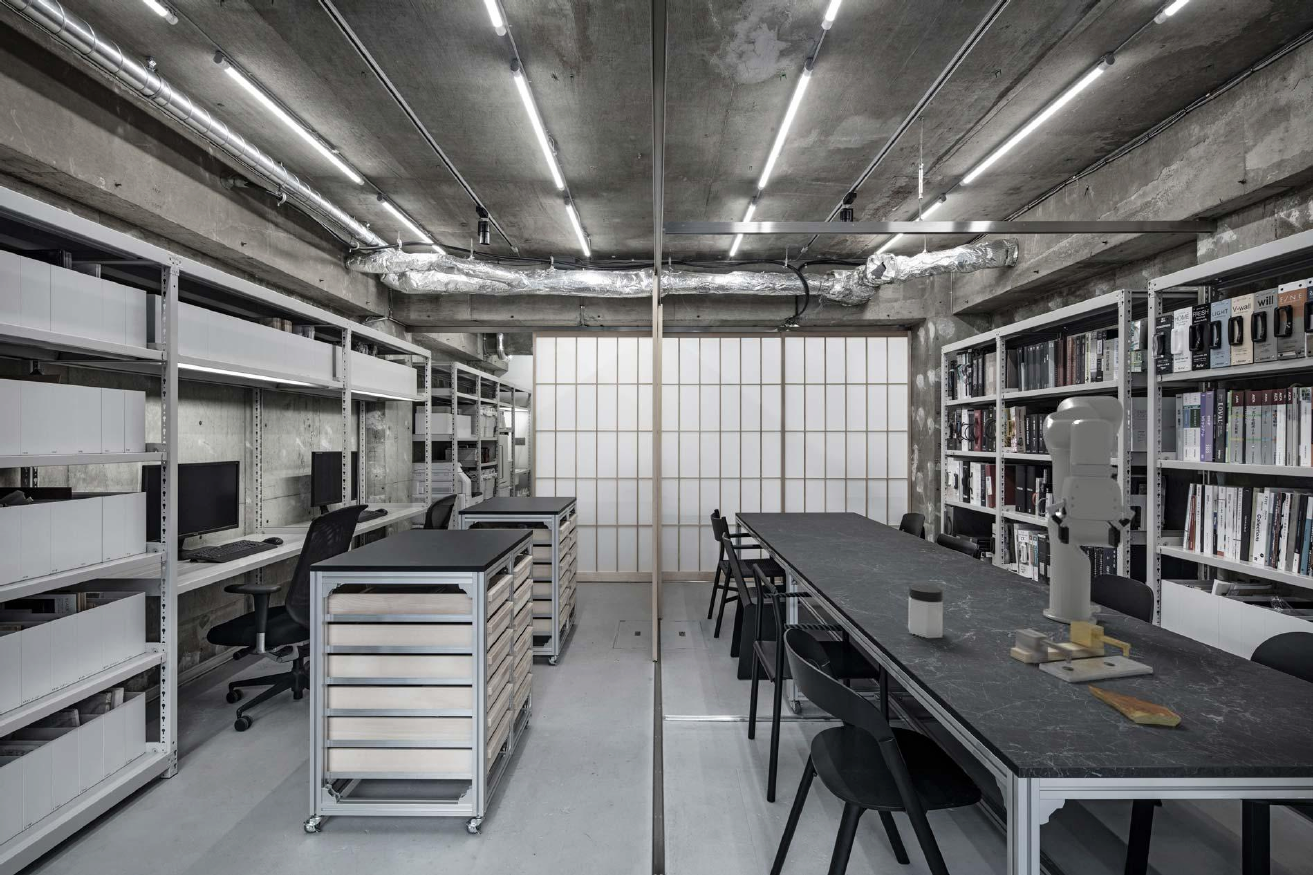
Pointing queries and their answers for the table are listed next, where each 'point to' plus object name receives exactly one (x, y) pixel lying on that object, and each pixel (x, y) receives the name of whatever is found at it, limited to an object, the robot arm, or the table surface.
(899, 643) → the table surface
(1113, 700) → the shard
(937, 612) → the jar
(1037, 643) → the divider rail
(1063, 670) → the bolt plate
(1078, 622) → the sliding leg
